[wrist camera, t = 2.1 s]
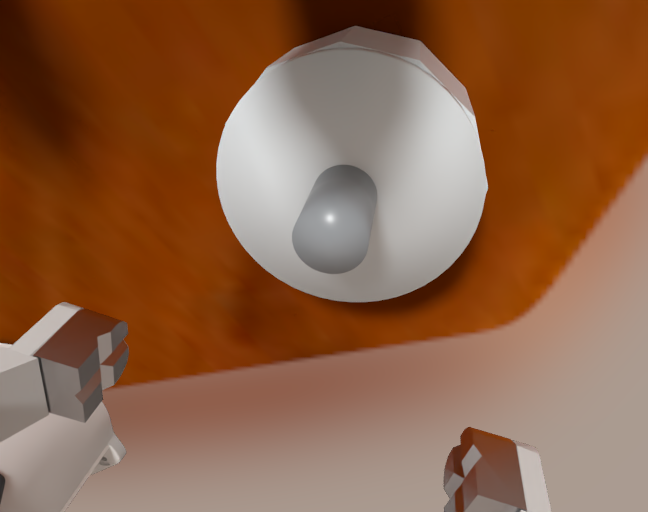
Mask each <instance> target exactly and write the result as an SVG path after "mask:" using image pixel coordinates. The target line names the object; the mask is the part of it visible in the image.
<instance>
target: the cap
mask: <svg viewBox="0 0 648 512" xmlns="http://www.w3.org/2000/svg"><path fill="white" fill-rule="evenodd" d="M216 165H217V185H218V192H219V197H220V201H221V204H222V208H223V211H224V213H225V216H226V218H227V221H228V223H229V225H230V227H231V229H232V230H233V232H234V234H235V236H236V237H237V239H238V240H239V241H240V243H241V244H242V246H243V247H244V248H245V250H246V251H247V252H248V253H249V254H250V255H251V256H252V257H253V258H254V260H255V261H256V262H258V263H259V264H260V265H261V266H262V267H263V268H264V269H265V270H267V271H268V272H269V273H271V274H272V275H274V276H275V277H276V278H278V279H279V280H281V281H283V282H285V283H286V284H288V285H290V286H292V287H294V288H296V289H298V290H301V291H303V292H305V293H308V294H311V295H314V296H317V297H321V298H325V299H330V300H335V301H344V302H372V301H381V300H385V299H390V298H394V297H398V296H401V295H404V294H407V293H409V292H412V291H414V290H416V289H418V288H420V287H422V286H424V285H426V284H427V283H429V282H431V281H432V280H434V279H435V278H437V277H438V276H439V275H441V274H442V273H443V272H444V271H445V270H447V269H448V268H449V267H450V266H451V265H452V264H453V263H454V262H455V261H456V260H457V258H458V257H459V256H460V255H461V254H462V252H463V251H464V249H465V248H466V247H467V245H468V244H469V242H470V240H471V238H472V236H473V234H474V232H475V231H476V229H477V226H478V223H479V220H480V217H481V214H482V210H483V205H484V200H485V195H486V192H487V190H488V184H487V179H486V174H485V165H484V159H483V155H482V152H481V147H480V141H479V136H478V130H477V125H476V120H475V115H474V112H473V109H472V106H471V103H470V100H469V97H468V94H467V91H466V88H465V87H464V86H463V85H462V84H461V83H460V82H459V81H458V80H457V79H456V78H455V77H454V76H453V74H452V73H451V72H450V71H449V70H448V69H447V68H446V67H445V66H444V65H443V64H442V63H441V62H440V61H439V60H438V59H437V58H436V57H435V56H434V55H433V54H432V52H431V51H430V50H429V49H428V48H427V47H426V46H425V45H424V44H423V43H422V42H421V41H419V40H415V39H411V38H406V37H402V36H398V35H394V34H389V33H385V32H381V31H376V30H372V29H368V28H363V27H359V26H353V27H350V28H347V29H345V30H342V31H339V32H336V33H334V34H331V35H328V36H325V37H323V38H320V39H317V40H315V41H312V42H309V43H306V44H304V45H301V46H298V47H295V48H294V49H292V50H291V51H289V52H288V53H287V54H285V55H284V56H282V57H281V58H280V59H278V60H277V61H275V62H274V63H272V64H271V65H270V66H268V67H267V68H266V69H265V71H264V72H263V73H262V75H261V76H260V77H259V79H258V80H257V81H256V83H255V84H254V85H253V86H252V87H251V88H250V89H249V90H248V92H247V93H246V94H245V95H244V96H243V97H242V99H241V100H240V101H239V102H238V104H237V105H236V107H235V109H234V110H233V112H232V113H231V115H230V117H229V119H228V120H227V122H226V123H225V128H224V130H223V133H222V137H221V140H220V144H219V148H218V155H217V163H216Z"/></svg>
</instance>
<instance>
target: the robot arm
mask: <svg viewBox="0 0 648 512" xmlns="http://www.w3.org/2000/svg"><path fill="white" fill-rule="evenodd" d="M127 334H128V329H127V323H126V322H124V321H121V320H118V319H115V318H112V317H109V316H106V315H103V314H100V313H97V312H94V311H91V310H88V309H85V308H82V307H79V306H76V305H72V304H69V303H66V302H63V303H60V304H58V305H56V306H55V307H54V308H53V309H52V310H51V311H49V312H48V313H47V314H46V315H45V316H44V317H43V318H42V319H41V320H40V321H38V322H37V323H36V324H35V325H34V326H33V327H32V328H31V329H30V330H29V331H27V332H26V333H25V334H24V335H23V336H22V337H21V338H20V339H19V340H18V341H16V342H15V343H14V344H13V345H11V344H4V343H0V512H65V510H66V509H67V508H68V506H69V505H70V503H71V502H72V500H73V499H74V497H75V496H76V495H77V493H78V492H79V490H80V489H81V487H82V486H83V484H84V483H85V482H86V480H87V479H88V477H89V476H90V475H92V474H95V473H97V472H99V471H102V470H104V469H106V468H109V467H111V466H114V465H116V464H118V463H119V462H120V461H121V460H122V458H123V457H124V456H125V454H126V449H125V447H124V446H123V444H122V443H121V442H120V440H119V439H118V438H117V436H116V435H115V434H114V432H113V428H112V424H111V419H110V416H109V414H108V411H107V409H106V407H105V405H104V404H103V402H102V400H103V395H102V390H104V389H106V388H108V387H110V386H112V385H114V384H115V383H116V382H117V380H118V379H119V377H120V376H121V374H122V372H123V370H124V368H125V366H126V364H127V359H128V354H129V353H128V346H127V344H126V343H125V341H124V340H123V339H124V337H125V336H126V335H127ZM444 490H445V492H446V493H447V495H448V496H449V498H450V500H449V502H448V503H447V505H446V506H445V507H444V512H552V510H551V506H550V502H549V496H548V492H547V487H546V483H545V478H544V473H543V469H542V464H541V460H540V455H539V452H538V450H537V449H536V447H533V446H530V445H527V444H524V443H520V442H517V441H514V440H511V439H508V438H505V437H502V436H498V435H495V434H491V433H488V432H484V431H481V430H478V429H474V428H471V427H468V428H466V429H465V430H464V431H463V433H462V435H461V445H459V446H456V447H453V449H452V450H451V452H450V454H449V456H448V459H447V462H446V465H445V471H444Z"/></svg>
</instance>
